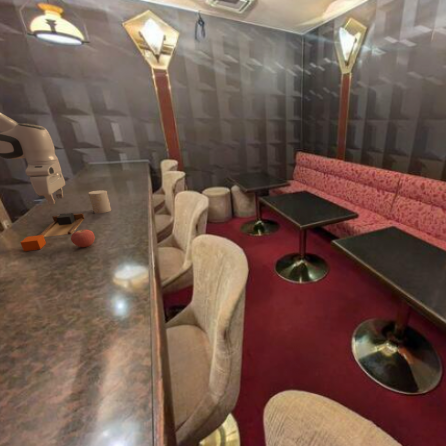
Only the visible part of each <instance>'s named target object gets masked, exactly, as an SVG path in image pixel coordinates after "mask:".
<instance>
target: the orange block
mask: <svg viewBox="0 0 446 446" xmlns="http://www.w3.org/2000/svg"><path fill="white" fill-rule="evenodd" d="M46 244H47V242H46V239H45V237H44V236H43V235H39V234H38V235H30V236H26V237H25V238H23V239H22V240H21V241H20V245H21V248H22V250H23V252H29V251H36V250H41V249H42V248H44V246H45V245H46Z"/></svg>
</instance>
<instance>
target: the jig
mask: <svg viewBox="0 0 446 446" xmlns="http://www.w3.org/2000/svg"><path fill="white" fill-rule="evenodd" d="M73 214H74V218H75V221H74V222H73V223H72V224H67V225H59V224H58V221H57V217H58V216H59V215H53V216H52V220H53V221H52V222H51V223H50V224H49V225H48V226H47V227H46V228H45V229H44V230H43V231H42V232H41V233H39V234H38V235H43V236H44V238H49V237H50V238H51V237H58V236H67V235H72V234H73V233H74V232H76V230H77V229H78V227H79V226H80V225H81V224H82V223H83V221H84V220H85V216H84V212H83V213H73Z"/></svg>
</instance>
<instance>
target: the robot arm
mask: <svg viewBox="0 0 446 446" xmlns="http://www.w3.org/2000/svg"><path fill="white" fill-rule="evenodd" d="M55 149H56V148H55V145H54V141H53V139H52V136H51V135H50V133H49V131H48V130H47V129H46V127H44V126H42V125H39V124H35V123H34V124H33V123H24V122H23V123H18V122H17V121H15V120H14V119H12V118H10V117H9V116H7V115H5V114H4V113H2V112H0V158H2V159H6V160H19V159H25V160H26V163H27V167H26V169H25V175H26V176H27V177H29V181H30V183H31V186H32V188H33V190H34V192H35V194H36V195H37V196H39V197H44V199H45V200H46V201H47V204H48V205H51V206H52V205H55V204H56V202H57V201H56V199H55V198H54V195H53V194H54V193H55V196H56V198H57V200H61V199H63V198H64V193H63V187H64V186H66V180H65V178H64V175H63V173H62V168H61V164H60V161H59V158H58V156H57V155H56V153H55V151H56V150H55Z"/></svg>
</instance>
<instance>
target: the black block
mask: <svg viewBox="0 0 446 446" xmlns="http://www.w3.org/2000/svg"><path fill="white" fill-rule="evenodd" d="M74 214H75V213H73V212H69V213H68V212H67V213H60V214H59V215H57V216H58V217H57V221H58V224H59V225H67V224H72V223H73V222H74V221H75V218H74Z"/></svg>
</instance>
